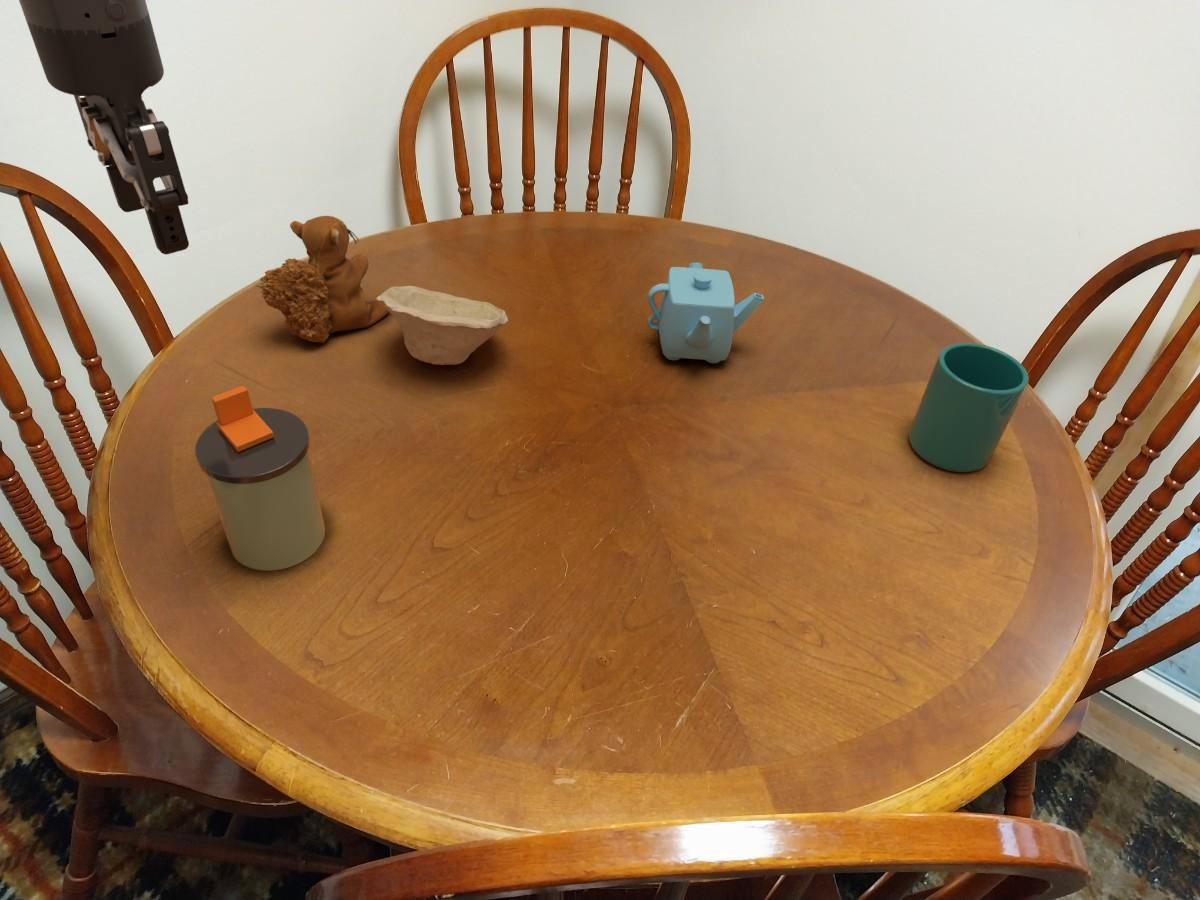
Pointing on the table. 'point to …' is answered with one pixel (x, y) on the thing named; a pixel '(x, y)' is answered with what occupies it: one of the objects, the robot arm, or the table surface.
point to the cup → (967, 406)
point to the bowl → (441, 323)
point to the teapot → (698, 313)
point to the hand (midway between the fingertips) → (154, 228)
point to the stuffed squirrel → (322, 284)
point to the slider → (240, 419)
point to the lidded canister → (265, 493)
